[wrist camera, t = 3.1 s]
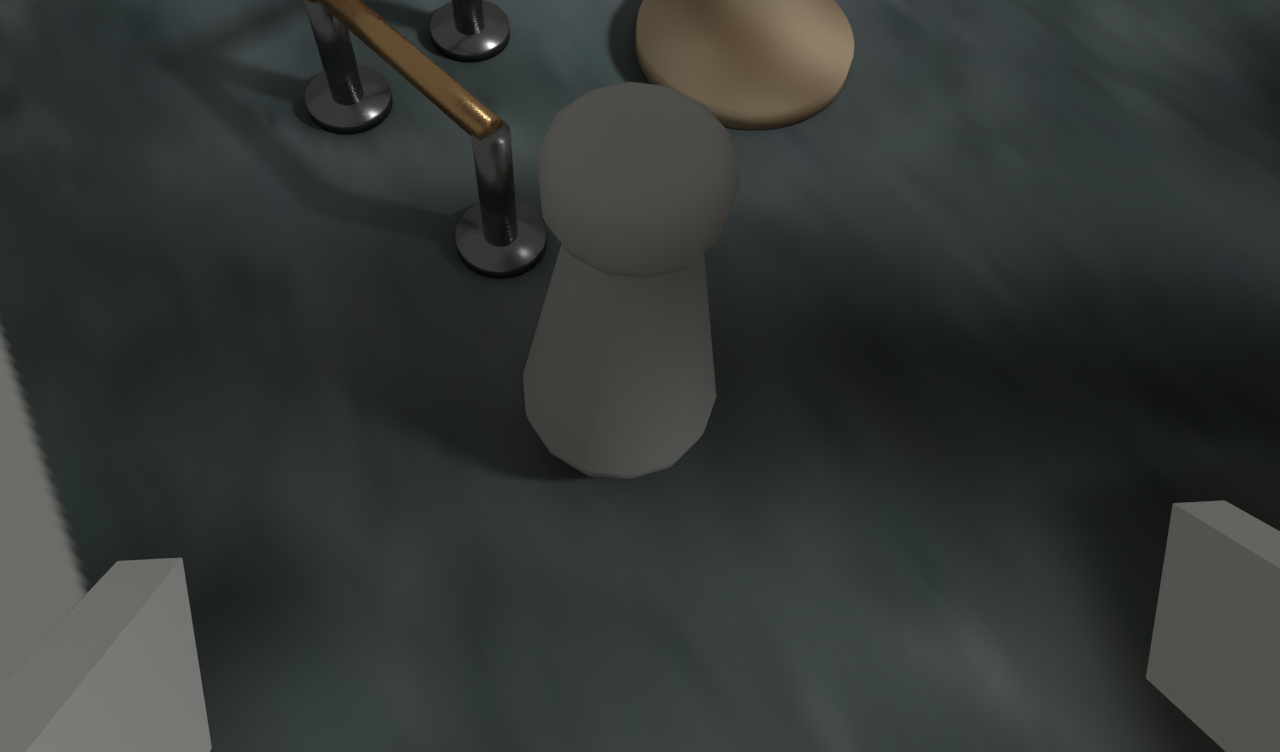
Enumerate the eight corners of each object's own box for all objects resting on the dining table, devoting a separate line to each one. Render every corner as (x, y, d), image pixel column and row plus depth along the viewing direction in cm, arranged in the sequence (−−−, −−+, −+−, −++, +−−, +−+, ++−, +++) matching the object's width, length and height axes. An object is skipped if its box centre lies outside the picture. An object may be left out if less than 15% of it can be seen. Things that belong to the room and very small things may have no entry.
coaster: (735, -48, 42) (738, -67, 42) (890, 59, 40) (897, 40, 39) (590, 41, 39) (590, 22, 38) (749, 165, 36) (753, 147, 35)
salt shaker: (735, 400, 31) (831, 111, 20) (647, 540, 28) (700, 299, 17) (586, 318, 32) (597, 2, 21) (489, 445, 30) (441, 162, 18)
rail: (476, -2, 40) (461, -144, 34) (680, 161, 36) (699, 31, 31) (291, 100, 36) (242, -41, 31) (496, 294, 32) (482, 172, 27)
